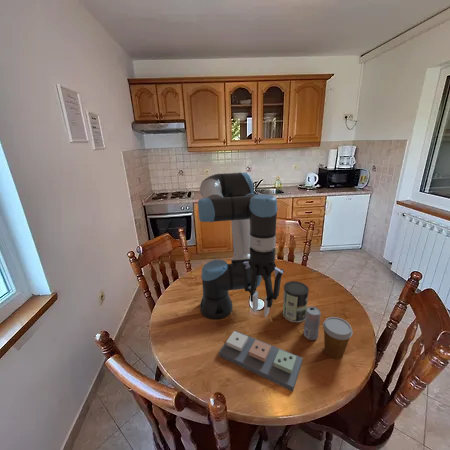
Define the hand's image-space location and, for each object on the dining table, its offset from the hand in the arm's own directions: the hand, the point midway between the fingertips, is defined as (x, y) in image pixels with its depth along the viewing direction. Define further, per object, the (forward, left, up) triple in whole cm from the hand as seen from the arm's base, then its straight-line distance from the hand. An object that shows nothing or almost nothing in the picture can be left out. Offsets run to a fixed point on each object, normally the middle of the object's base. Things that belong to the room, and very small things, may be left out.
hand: (260, 311), depth 78 cm
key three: (+9, 0, -19) cm, 21 cm away
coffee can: (+5, +29, -21) cm, 36 cm away
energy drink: (+14, +20, -21) cm, 32 cm away
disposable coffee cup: (+23, +16, -21) cm, 35 cm away
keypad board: (0, 0, -21) cm, 21 cm away
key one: (-9, 0, -19) cm, 21 cm away
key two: (0, 0, -19) cm, 19 cm away
